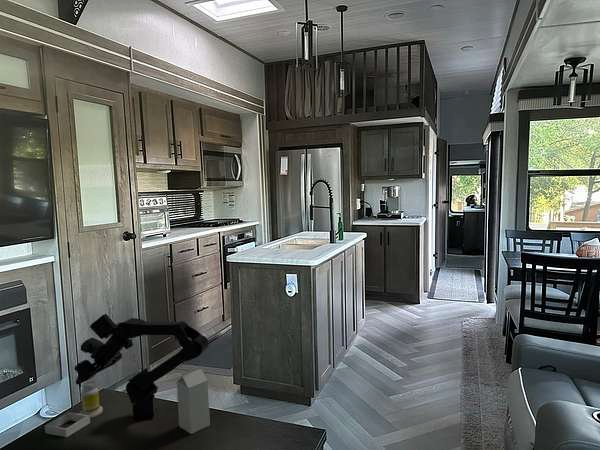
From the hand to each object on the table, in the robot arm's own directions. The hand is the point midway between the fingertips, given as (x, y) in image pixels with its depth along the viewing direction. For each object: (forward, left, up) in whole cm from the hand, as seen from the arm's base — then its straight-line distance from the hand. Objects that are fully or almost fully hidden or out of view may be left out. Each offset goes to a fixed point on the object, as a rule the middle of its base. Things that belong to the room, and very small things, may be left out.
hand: (85, 378), depth 146 cm
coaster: (-1, 0, -13) cm, 13 cm away
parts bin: (+3, +9, -13) cm, 16 cm away
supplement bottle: (-1, 0, -12) cm, 12 cm away
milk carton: (-39, +17, -13) cm, 45 cm away
